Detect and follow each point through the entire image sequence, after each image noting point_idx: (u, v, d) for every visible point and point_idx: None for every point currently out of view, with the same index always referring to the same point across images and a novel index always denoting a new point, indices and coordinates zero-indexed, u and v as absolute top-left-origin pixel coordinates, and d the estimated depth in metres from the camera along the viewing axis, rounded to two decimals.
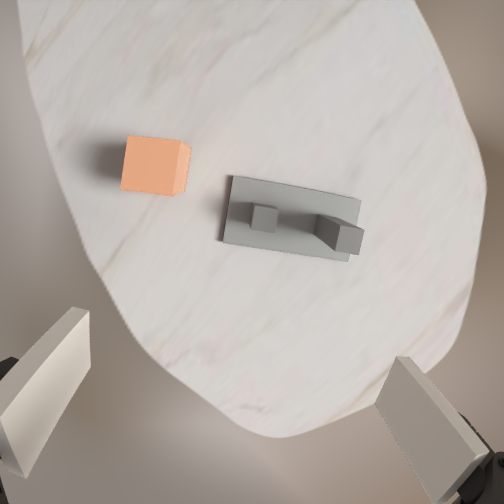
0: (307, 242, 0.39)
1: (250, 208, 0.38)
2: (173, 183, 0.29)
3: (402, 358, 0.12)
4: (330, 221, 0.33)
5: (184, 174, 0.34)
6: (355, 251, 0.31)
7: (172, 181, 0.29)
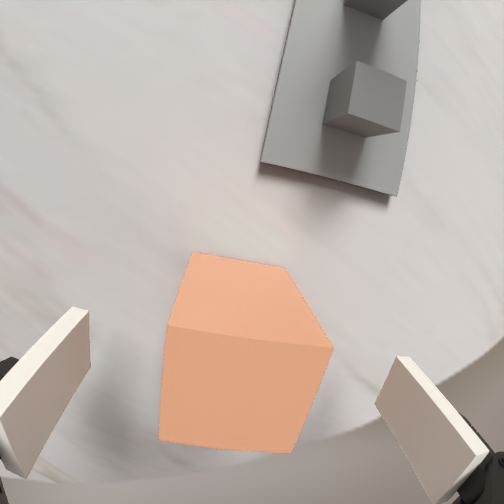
0: (397, 34, 0.14)
1: (334, 130, 0.16)
2: (297, 344, 0.10)
3: (402, 358, 0.12)
4: None
5: (254, 276, 0.15)
6: None
7: (292, 349, 0.10)
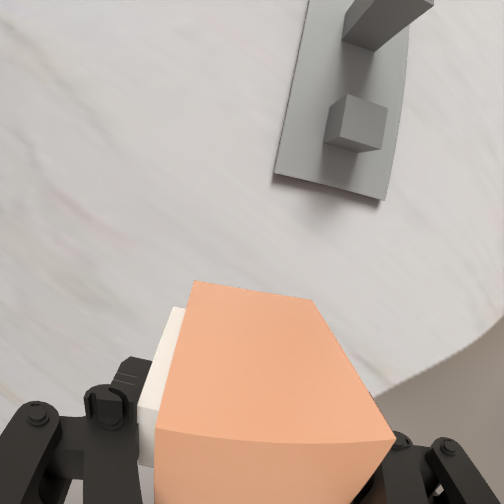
0: (387, 63, 0.19)
1: (332, 147, 0.20)
2: (349, 441, 0.06)
3: None
4: (368, 10, 0.13)
5: (276, 318, 0.11)
6: None
7: (342, 448, 0.06)
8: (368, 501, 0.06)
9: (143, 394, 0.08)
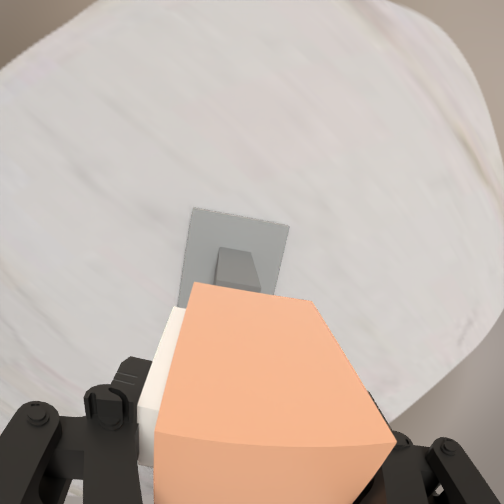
0: None
1: None
2: (349, 445, 0.06)
3: None
4: None
5: (276, 319, 0.11)
6: None
7: (342, 452, 0.06)
8: (368, 501, 0.06)
9: (143, 394, 0.08)
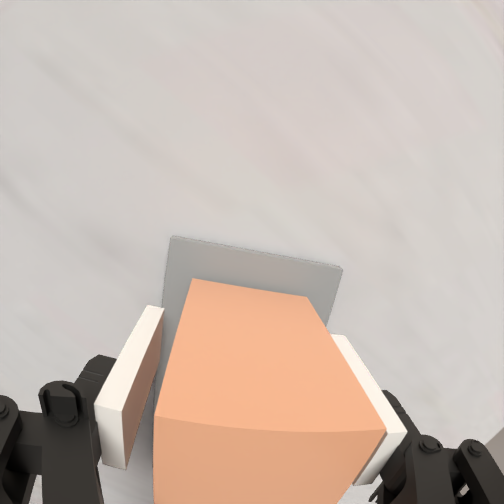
0: None
1: None
2: (340, 430, 0.06)
3: (336, 336, 0.14)
4: None
5: (271, 314, 0.12)
6: None
7: (333, 437, 0.06)
8: (398, 502, 0.06)
9: (102, 393, 0.07)
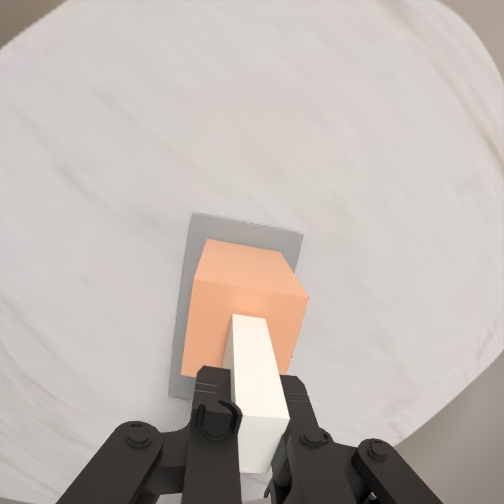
0: None
1: None
2: (283, 294, 0.14)
3: (254, 318, 0.14)
4: None
5: (255, 256, 0.20)
6: None
7: (279, 297, 0.14)
8: None
9: (237, 402, 0.08)
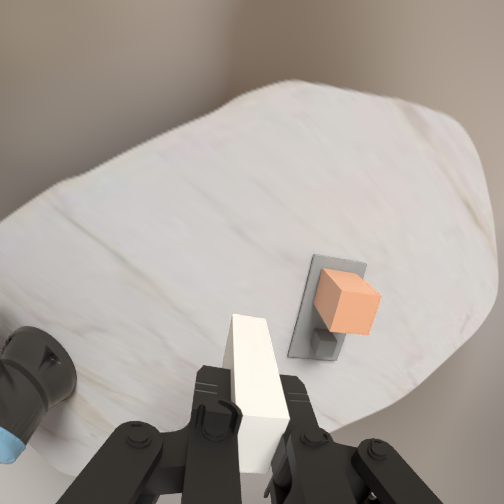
0: None
1: None
2: (372, 295, 0.35)
3: (254, 318, 0.14)
4: None
5: (349, 277, 0.41)
6: None
7: (371, 296, 0.35)
8: None
9: (237, 402, 0.08)
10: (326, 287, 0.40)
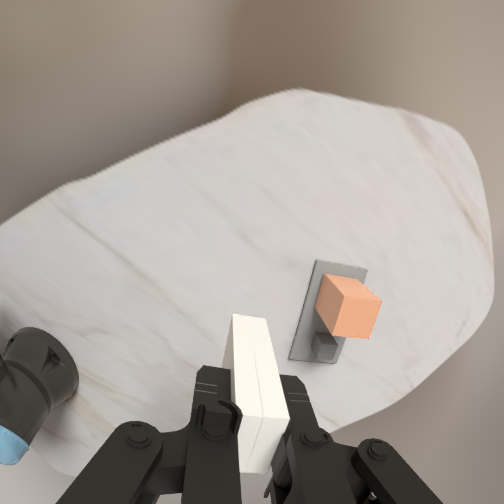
0: None
1: None
2: (373, 300, 0.36)
3: (254, 318, 0.14)
4: None
5: (350, 282, 0.42)
6: None
7: (372, 301, 0.36)
8: None
9: (237, 402, 0.08)
10: (328, 292, 0.41)
